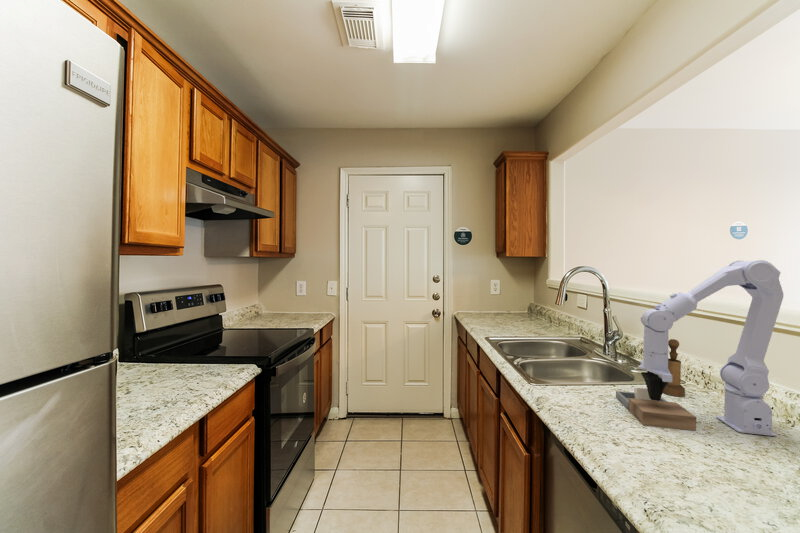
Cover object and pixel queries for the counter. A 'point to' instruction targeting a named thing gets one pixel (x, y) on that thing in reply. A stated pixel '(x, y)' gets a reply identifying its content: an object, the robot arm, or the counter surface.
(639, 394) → the tile
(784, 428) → the counter surface
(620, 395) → the box
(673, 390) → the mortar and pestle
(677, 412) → the wooden cutting board
